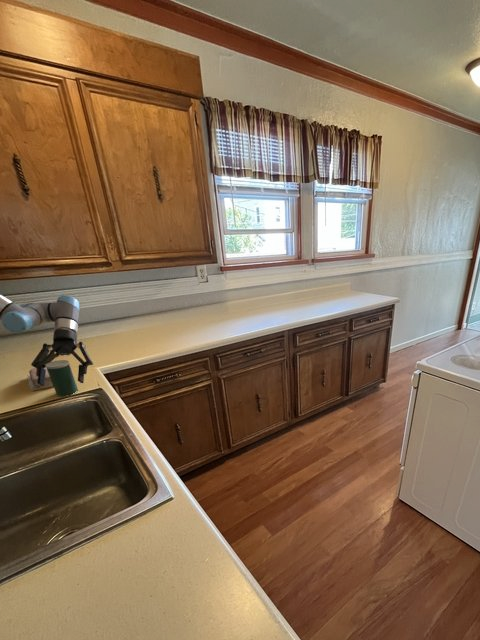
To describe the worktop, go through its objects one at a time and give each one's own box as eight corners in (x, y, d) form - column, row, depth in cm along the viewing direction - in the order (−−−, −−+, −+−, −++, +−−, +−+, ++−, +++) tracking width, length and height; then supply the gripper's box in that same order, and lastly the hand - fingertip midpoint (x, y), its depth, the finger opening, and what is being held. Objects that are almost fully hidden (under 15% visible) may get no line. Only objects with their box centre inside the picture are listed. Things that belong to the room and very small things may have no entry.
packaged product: (57, 374, 130) (26, 380, 124) (61, 385, 132) (31, 392, 126) (52, 362, 142) (23, 367, 136) (56, 372, 144) (28, 378, 138)
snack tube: (52, 397, 122) (41, 367, 117) (61, 389, 128) (51, 360, 123) (73, 395, 123) (63, 366, 118) (81, 388, 130) (72, 359, 124)
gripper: (104, 336, 134) (101, 384, 127) (36, 339, 130) (30, 389, 123) (95, 326, 127) (92, 377, 120) (24, 329, 122) (16, 381, 116)
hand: (60, 383), depth 122 cm, fingers open, 13 cm apart
